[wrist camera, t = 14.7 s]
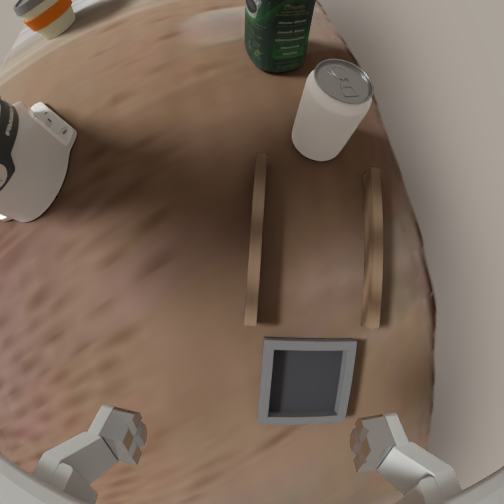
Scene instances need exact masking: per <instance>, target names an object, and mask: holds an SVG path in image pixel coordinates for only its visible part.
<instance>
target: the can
mask: <svg viewBox="0 0 504 504" xmlns="http://www.w3.org/2000/svg"><path fill="white" fill-rule="evenodd" d="M373 92H374V87H373V83H372V81H371V79H370V78H369V76H368V75H367V74H366V73H365V72H364V71H363V70H362V69H361V68H359V67H358V66H356V65H355V64H353V63H351V62H348V61H345V60H341V59H327V60H323V61H321V62H320V63H318V64H317V66H316V67H315V69H314V70H313V71H312V72H311V73H310V74H309V76H308V78H307V81H306V84H305V87H304V90H303V94H302V97H301V101H300V104H299V107H298V111H297V115H296V118H295V122H294V125H293V129H292V141H293V143H294V145H295V147H296V149H297V150H298V151H299V152H300V153H301V154H302V155H304V156H305V157H307V158H309V159H312V160H316V161H327V160H330V159H333V158H334V157H336V156H337V155H338V154H339V152H340V151H341V150H342V148H343V147H344V145H345V144H346V143H347V141H348V140H349V138H350V137H351V135H352V134H353V132H354V131H355V130H356V128H357V127H358V125H359V124H360V122H361V121H362V119H363V118H364V116H365V115H366V113H367V111H368V110H369V108H370V106H371V102H372V95H373Z"/></svg>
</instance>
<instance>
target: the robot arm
mask: <svg viewBox="0 0 504 504" xmlns="http://www.w3.org/2000/svg"><path fill="white" fill-rule="evenodd" d="M76 136H77V131H76V130H75V129H74V128H72V127H71V126H70V125H69V124H68V123H66V122H65V121H64V120H63V119H62V118H61V117H59V116H58V115H57V114H56V113H55V112H53V111H52V110H51V109H50V108H49V107H47V106H46V105H45V104H44V103H42V102H39V103H37V104H35V105H33V106H32V107H31V108H29V107H28V106H27V105H25V104H24V103H23V102H22V101H20V102H17V103H15V104H13V105H11V104H10V103H8V102H7V101H4V100H1V97H0V220H2V221H9V220H11V219H14V220H17V221H20V222H29V221H32V220H34V219H36V218H37V217H39V216H40V215H41V214H42V213H44V212H45V210H46V209H47V208H48V207H49V206H50V205H51V203H52V202H53V200H54V199H55V197H56V196H57V194H58V192H59V190H60V188H61V186H62V183H63V181H64V178H65V175H66V171H67V167H68V160H69V153H70V150H71V148H72V146H73V144H74V141H75V139H76ZM141 419H142V417H141V415H140V412H135V411H131V410H126V409H122V408H118V407H115V406H111V405H107V404H104V405H103V406H101V408H100V410H99V412H98V413H97V415H96V417H95V419H94V421H93V423H92V424H91V426H90V428H89V430H88V432H85V431H84V432H82V433H80V434H78V435H77V436H75V437H73V438H71V439H69V440H67V441H65V442H64V443H62V444H60V445H58V446H56V447H54V448H52V449H50V450H48V451H46V452H44V454H43V455H42V457H41V459H40V461H39V462H38V464H37V466H36V468H35V470H34V471H33V473H32V474H30V473H29V472H27V471H26V470H24V469H22V468H21V467H19V466H18V465H16V464H15V463H13V462H12V461H11V460H9V459H8V458H6V457H5V456H3V455H2V454H1V453H0V504H95V502H96V499H97V496H98V494H97V492H96V491H95V490H94V489H93V488H92V487H91V486H90V485H89V484H90V483H92V482H93V481H94V480H96V479H97V478H98V477H100V476H101V475H102V474H104V473H105V472H106V471H107V470H109V469H110V468H111V467H113V466H114V465H115V464H116V463H118V461H121V462H125V463H129V464H133V465H138V462H139V459H140V456H141V454H142V453H141V450H140V447H142V446H143V445H145V442H146V439H147V429H146V426H145V424H144V423H143V422H141ZM355 425H356V428H355V429H353V430H352V432H351V435H350V447H351V451H352V452H353V453H354V454H356V456H355V458H354V464H355V468H356V472H357V473H360V472H366V471H371V470H376V469H377V471H378V472H379V473H380V474H381V475H382V476H383V477H384V478H385V479H386V480H387V481H389V482H390V483H391V484H392V485H393V486H394V487H395V488H396V489H397V490H399V491H400V492H401V493H402V494H403V495H404V496H403V497H402V498H401V499H400V500H399V501H398V502H397V503H396V504H504V466H503V467H502V468H500V469H499V470H497V471H496V472H494V473H492V474H491V475H489V476H487V477H486V478H484V479H483V480H481V481H479V482H477V483H475V484H474V485H472V486H470V487H468V488H466V489H464V490H462V489H461V487H460V484H459V482H458V480H457V477H456V475H455V473H454V470H453V468H452V467H451V466H450V465H448V464H446V463H445V462H443V461H441V460H440V459H438V458H436V457H435V456H433V455H432V454H430V453H429V452H427V451H426V450H424V449H423V448H421V447H419V446H418V445H416V444H415V443H413V442H409V441H408V439H407V437H406V434H405V432H404V430H403V427H402V425H401V423H400V420H399V418H398V416H397V414H396V413H395V412H392V413H387V414H380V415H375V416H369V417H364V418H359V419H357V421H356V423H355Z"/></svg>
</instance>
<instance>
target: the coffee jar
mask: <svg viewBox="0 0 504 504" xmlns="http://www.w3.org/2000/svg"><path fill="white" fill-rule="evenodd" d="M315 1H316V0H246V3H245V47H246V50H247V52H248V54H249V56H250V58H251V60H252V61H253V62H254V64H255V65H256V66H257V67H258V68H259V69H261V70H264V71H267V72H286V71H291V70H294V69H297V68H299V67H300V66H301V65H302V64H303V63H304V59H305V54H306V49H307V43H308V37H309V31H310V25H311V20H312V15H313V10H314V5H315Z"/></svg>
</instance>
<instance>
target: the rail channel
mask: <svg viewBox="0 0 504 504" xmlns="http://www.w3.org/2000/svg"><path fill="white" fill-rule="evenodd" d="M266 165H267V154H262V153H256V160H255V174H254V188H253V202H252V216H251V231H250V245H249V260H248V274H247V289H246V304H245V319H244V325H248V326H256V323H257V308H258V294H259V279H260V263H261V248H262V232H263V216H264V199H265V182H266ZM363 183H364V207H365V263H364V287H363V303H362V316H361V326H364V327H366V328H369V329H370V328H379V323H380V312H381V298H382V279H383V210H382V191H381V177H380V168H375V167H370V168H369V169H368V170H367V171H366V172H365V173H364V174H363Z"/></svg>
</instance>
